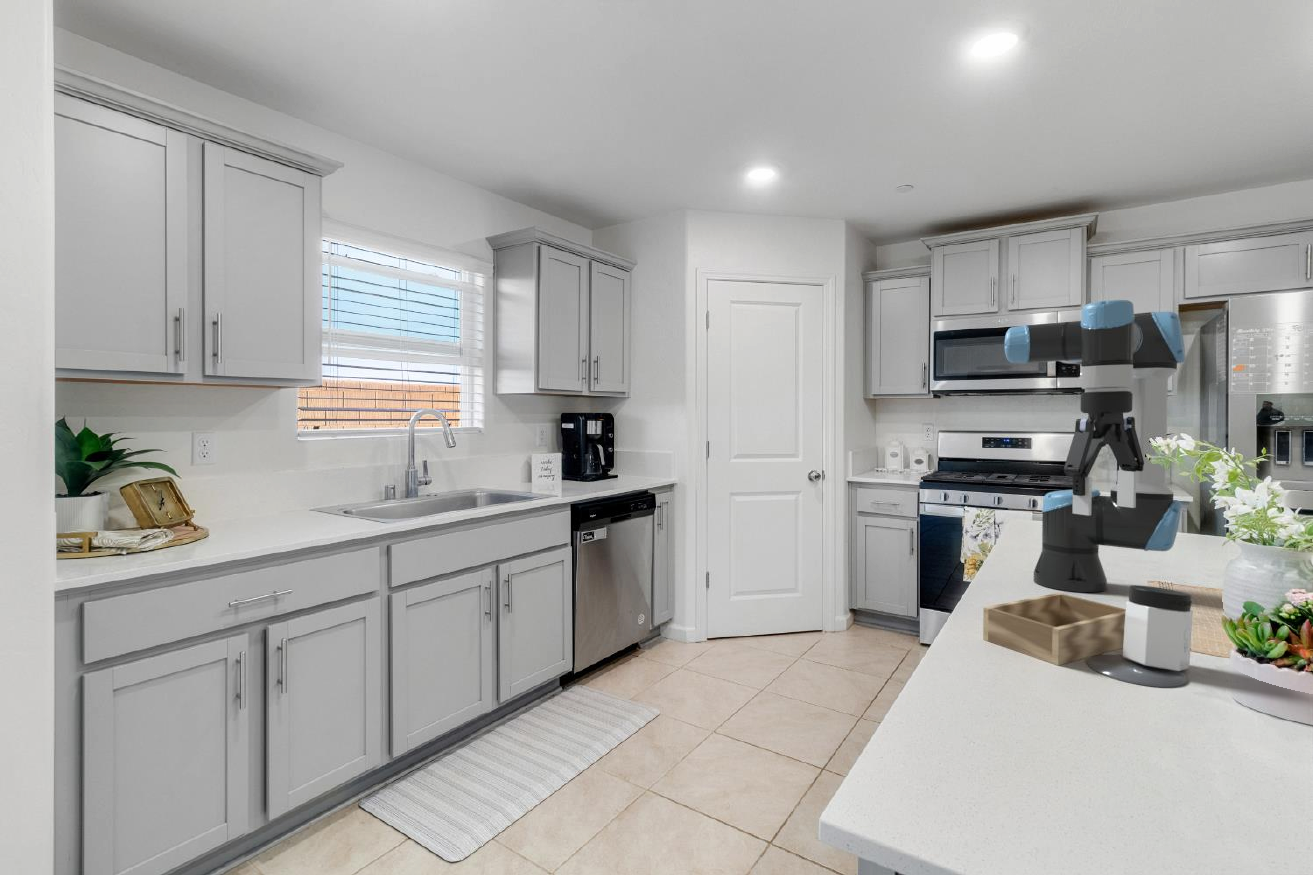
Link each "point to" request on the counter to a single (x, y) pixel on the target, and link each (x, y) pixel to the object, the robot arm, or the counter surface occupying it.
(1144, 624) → the jar
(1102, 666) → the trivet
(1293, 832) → the counter surface
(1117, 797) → the counter surface
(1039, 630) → the frame
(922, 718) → the counter surface
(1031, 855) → the counter surface
